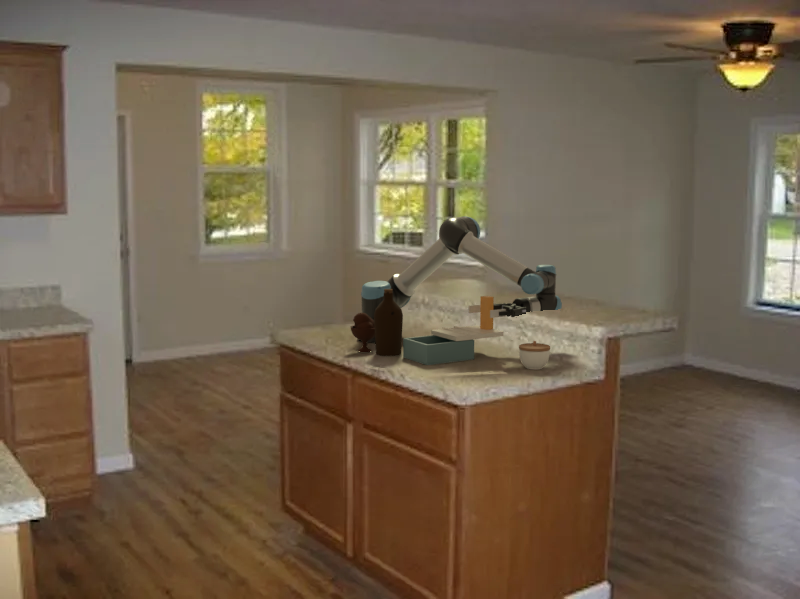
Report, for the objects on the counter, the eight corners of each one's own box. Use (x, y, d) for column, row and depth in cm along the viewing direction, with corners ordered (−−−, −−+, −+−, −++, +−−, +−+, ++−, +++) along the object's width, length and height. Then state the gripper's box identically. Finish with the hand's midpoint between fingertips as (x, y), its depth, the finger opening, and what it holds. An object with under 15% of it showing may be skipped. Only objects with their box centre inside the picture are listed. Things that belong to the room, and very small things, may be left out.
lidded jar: (531, 363, 319) (532, 337, 317) (556, 367, 311) (556, 341, 310) (512, 367, 311) (512, 341, 310) (536, 372, 304) (537, 345, 302)
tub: (403, 360, 325) (403, 338, 324) (449, 354, 335) (449, 333, 334) (426, 367, 311) (426, 345, 310) (474, 361, 321) (474, 339, 320)
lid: (431, 334, 330) (431, 297, 328) (477, 329, 340) (477, 293, 339) (456, 341, 316) (456, 302, 314) (503, 335, 326) (503, 298, 324)
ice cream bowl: (375, 354, 335) (375, 314, 333) (347, 353, 338) (346, 314, 336) (382, 349, 346) (381, 310, 344) (354, 348, 348) (353, 310, 346)
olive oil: (408, 355, 333) (408, 288, 329) (389, 360, 325) (389, 291, 321) (387, 352, 339) (387, 286, 336) (368, 356, 331) (367, 289, 328)
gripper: (546, 321, 330) (499, 326, 320) (505, 313, 352) (460, 317, 341) (546, 301, 329) (500, 305, 319) (505, 294, 351) (460, 297, 340)
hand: (479, 311), depth 330 cm, fingers open, 13 cm apart
